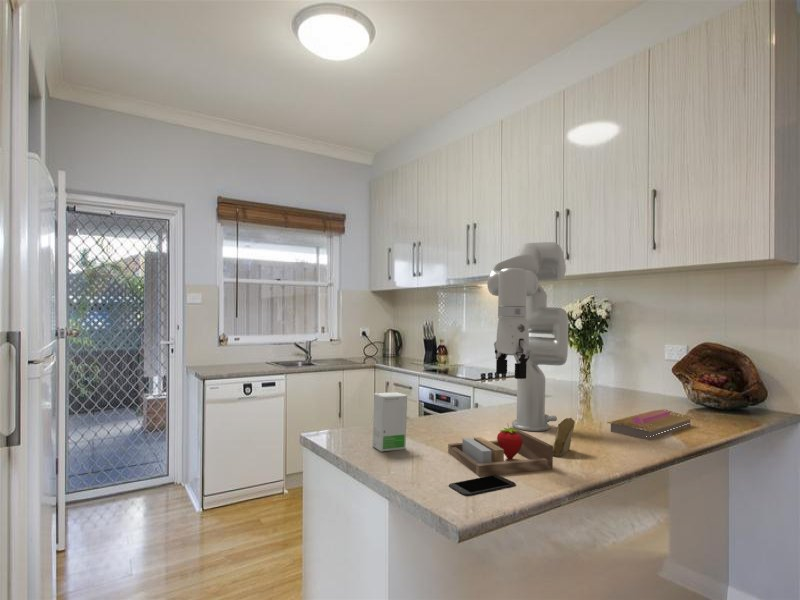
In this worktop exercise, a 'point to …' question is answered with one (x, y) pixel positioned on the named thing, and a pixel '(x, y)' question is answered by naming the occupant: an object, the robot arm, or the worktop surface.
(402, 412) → the skincare box
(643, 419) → the brown slab
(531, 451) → the rack
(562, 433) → the rock
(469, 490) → the smartphone
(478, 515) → the worktop surface
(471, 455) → the outer offcut board
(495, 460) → the inner offcut board
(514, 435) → the strawberry
